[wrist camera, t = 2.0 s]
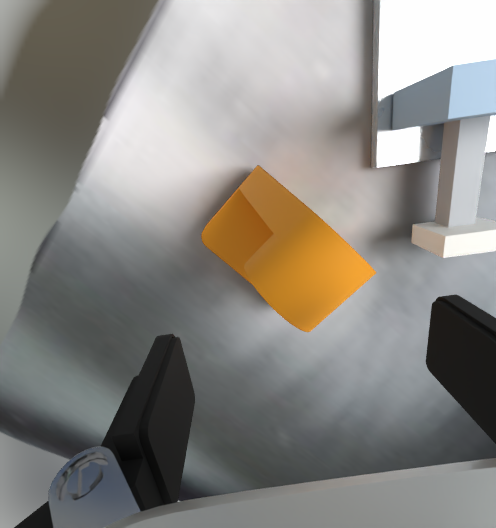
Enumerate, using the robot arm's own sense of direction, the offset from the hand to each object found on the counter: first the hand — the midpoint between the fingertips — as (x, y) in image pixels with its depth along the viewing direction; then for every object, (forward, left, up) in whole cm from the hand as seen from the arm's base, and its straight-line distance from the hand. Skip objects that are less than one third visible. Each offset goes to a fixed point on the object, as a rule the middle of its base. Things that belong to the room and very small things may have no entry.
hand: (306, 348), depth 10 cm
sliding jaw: (-14, -4, -14) cm, 21 cm away
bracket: (0, 0, -16) cm, 16 cm away
